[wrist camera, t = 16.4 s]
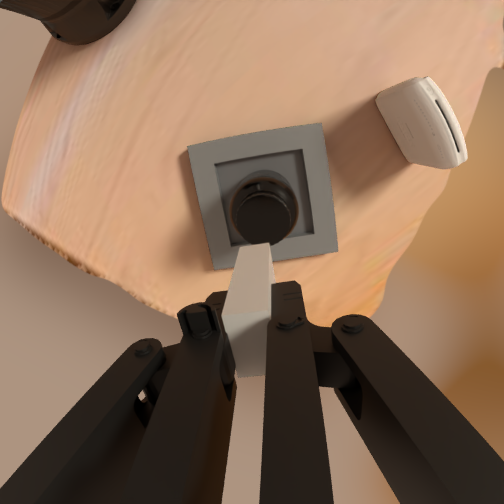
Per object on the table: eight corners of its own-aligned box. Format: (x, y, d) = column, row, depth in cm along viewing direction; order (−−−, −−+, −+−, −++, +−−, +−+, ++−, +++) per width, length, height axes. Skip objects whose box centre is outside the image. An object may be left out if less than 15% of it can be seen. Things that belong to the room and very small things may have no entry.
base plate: (217, 263, 43) (214, 269, 41) (191, 145, 38) (187, 146, 35) (335, 245, 41) (338, 251, 39) (318, 123, 36) (321, 122, 34)
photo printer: (368, 97, 34) (407, 81, 22) (393, 83, 33) (439, 66, 21) (405, 166, 37) (454, 180, 25) (429, 152, 36) (482, 161, 24)
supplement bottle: (235, 220, 40) (221, 254, 28) (239, 166, 37) (226, 178, 26) (289, 226, 39) (297, 262, 28) (296, 172, 37) (307, 186, 26)
